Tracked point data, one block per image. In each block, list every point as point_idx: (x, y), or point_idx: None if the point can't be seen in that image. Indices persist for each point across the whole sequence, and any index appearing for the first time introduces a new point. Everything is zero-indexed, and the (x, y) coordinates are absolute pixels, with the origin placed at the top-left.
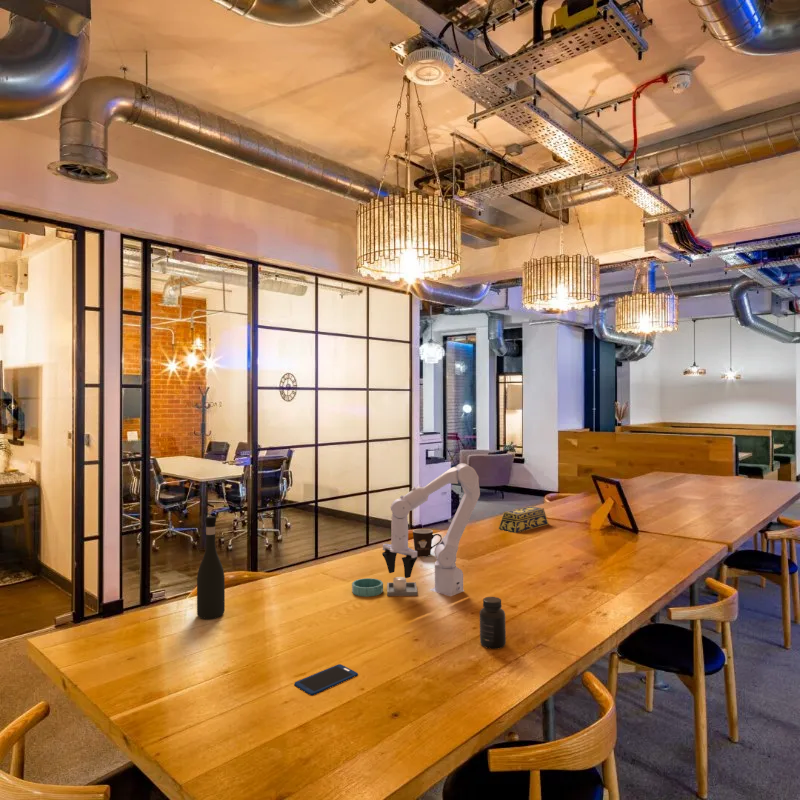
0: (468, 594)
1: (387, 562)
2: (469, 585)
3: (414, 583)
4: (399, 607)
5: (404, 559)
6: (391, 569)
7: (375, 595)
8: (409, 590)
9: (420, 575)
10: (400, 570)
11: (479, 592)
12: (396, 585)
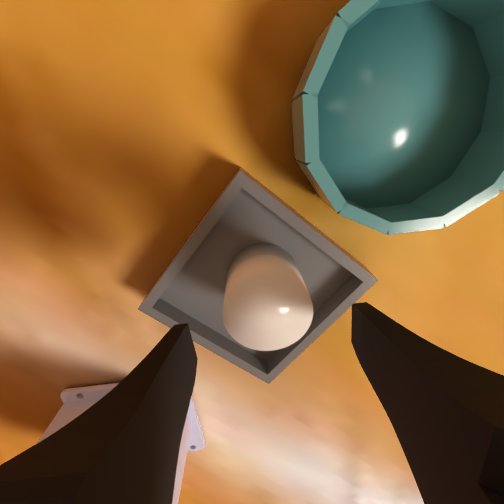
0: None
1: (419, 352)
2: None
3: (259, 370)
4: (52, 117)
5: (20, 482)
6: (363, 334)
7: (292, 106)
8: None
9: (369, 450)
10: None
11: None
12: (251, 262)
